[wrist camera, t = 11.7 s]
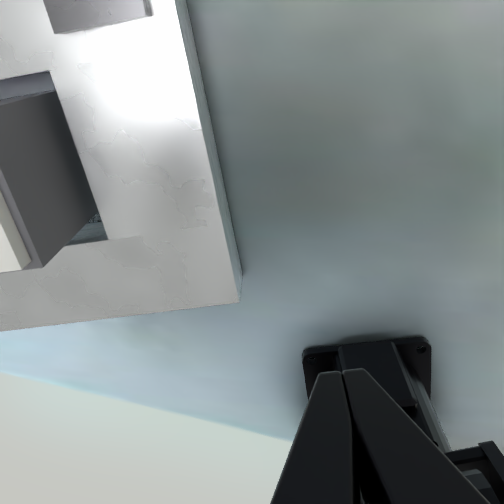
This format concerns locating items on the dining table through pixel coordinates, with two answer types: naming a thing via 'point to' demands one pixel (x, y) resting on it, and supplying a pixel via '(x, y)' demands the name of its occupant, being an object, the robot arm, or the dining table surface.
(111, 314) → the socket plate
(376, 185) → the dining table surface
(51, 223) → the plug
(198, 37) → the dining table surface
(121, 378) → the dining table surface
